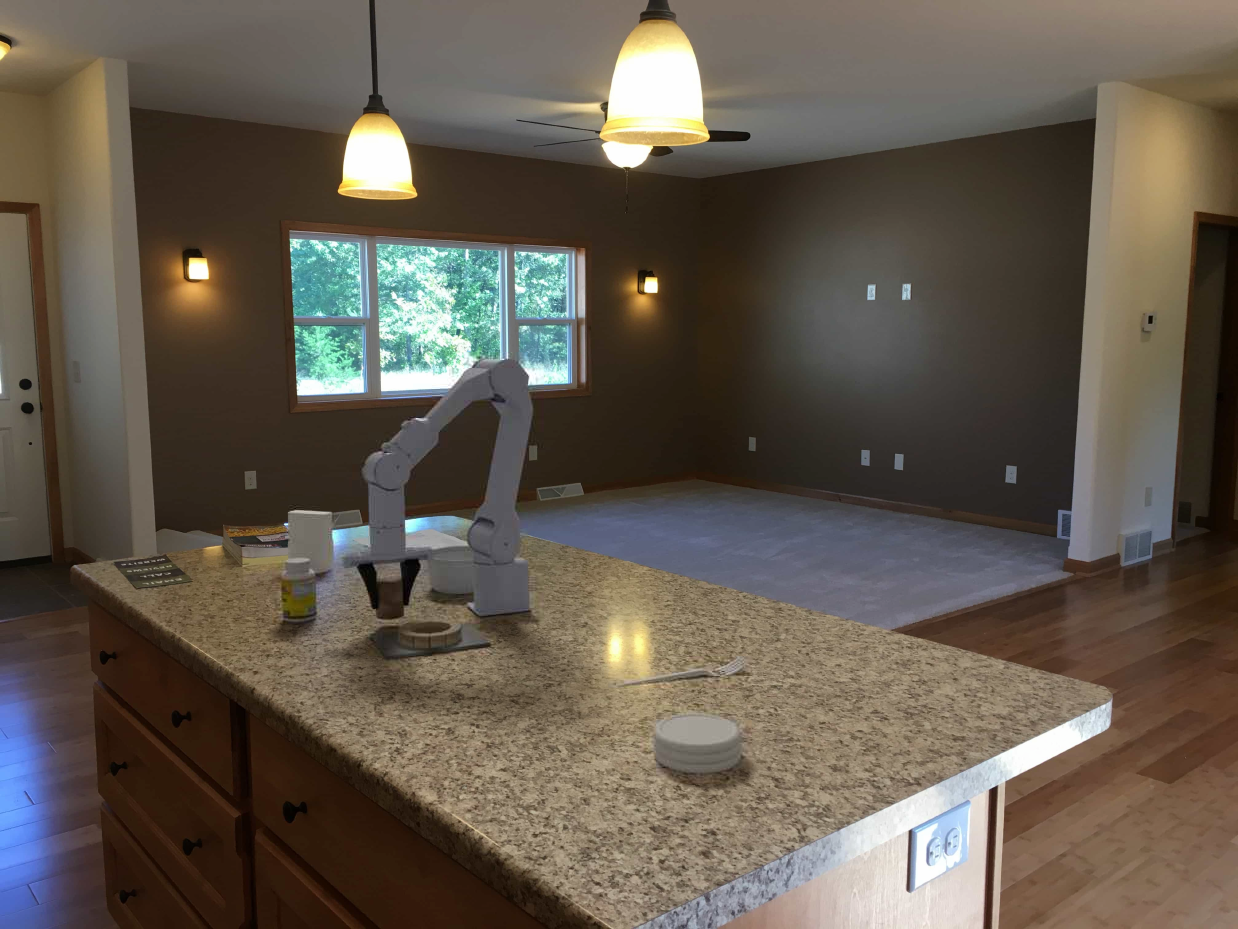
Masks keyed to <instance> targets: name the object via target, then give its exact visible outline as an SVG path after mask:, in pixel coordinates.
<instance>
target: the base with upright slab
mask: <svg viewBox="0 0 1238 929" xmlns="http://www.w3.org/2000/svg"><path fill="white" fill-rule="evenodd" d="M287 522H288V524H287V526H288V542H287V544H288V546H287V547H288V548H287V549H288V559H293V558H307V559H309V560H310V569H312V570H313V571H314V572H315V573H316V574H321V573H322V572H323V573H327V572H330V571H329V570H331V571H332V569H333V570H334V569H335V551H334V549H335V546H334V538H333V513H332V511H321V510H320V511H318V510H303V509H302V510H300V509H296V510H291V511H288V512H287Z"/></svg>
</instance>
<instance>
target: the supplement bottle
mask: <svg viewBox="0 0 1238 929" xmlns="http://www.w3.org/2000/svg"><path fill="white" fill-rule="evenodd" d="M284 568H285V570H284V571H283V572H281V574H280V582H281V583H280V584H281V607H282V608H281V609H282V618H283V620H284V621H286V622H288V623H304V622H309V621H311V620H315V618H317V612H318V611H317V607H318V606H317V584H316V582H317V581H316V578H317V577H316V574H315V572H314V571H313V570H312V569H310V560H309V559H307V558H293V559H289V558H288V559H286V560H285V567H284Z"/></svg>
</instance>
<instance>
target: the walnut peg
mask: <svg viewBox="0 0 1238 929" xmlns="http://www.w3.org/2000/svg"><path fill="white" fill-rule="evenodd" d="M376 591H377V601H378V609H375V616H376V617H375V618H377V619H379V620H381V621H382V620H385V621H389V620H391V621H393V620H397V619H400V618H403V617H404V616H405V606H404V594H403V579H402V578H401V577H397V576H395V577H394V576H393V577H392V576H391V577H389V576H388V577H382V578H377V584H376Z"/></svg>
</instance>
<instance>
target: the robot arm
mask: <svg viewBox="0 0 1238 929" xmlns="http://www.w3.org/2000/svg"><path fill="white" fill-rule="evenodd" d="M529 380H530V375H529V374H528V373H527V371H526V370H525V368H524V367H523V366H522V365H521V364H520V363H519V361H517V360H515V359H512V358H503V359H502V358H501V359H500V358H499V359H498V358H489V357H483V358H479V359H478V360H476V361H475V362H474V363H473V364H472V365H471V367H469V368H467V369H466V370H464V371H463V373H461V376H460V377H459V378H458V380H457V381H456V382H454V384H453V385H452V386H451V387H450V389H449V390H448V391H447V392H446V393H445V394H444V395H443V396H442V397H441V398H440V399H439V400H438V402H437V403H436V404H435V405H434V406H433V407H432V408H431V410H430V411H429V412H428V413H427V414H425V416H424V417H422V418H421V417H419V418H417V417H415V418H411V420H405V421H403V422H402V423H401V424H400V427H401V428H402V429H401V430H399V431H398V432H397V434H395V435H394V436H393V437H392V439H390V440H389V441H388V442H384V443H382V444H381V447H380V448H381V449H382V451H377V452H374V453H372V454H370V455H369V456H368V457H367V459H366V460H365V462H364V464H365V465H363V468H362V469H361V474H362V477H363V479H364V480H365V481H366V482H367V485H368V487H367V488H368V522H369V524H368V525H369V545H370V547H369V548H370V549H369V550H364V551H358V552H353V553H346V554H345V553H344V554H341V561H342V562H341V564H342V567H343V569H352V568H353V567H356V569H357V571H358V573H359V574H360V575H359V576H360V577H361V579H362V581H363V583H364V585H365V588H366V591H367V594H368V598H369V602H370V608H371V609H372V610H376V609H378V601H377V591H376V584H377V579H378V572H377V570H376V565H383V564H384V565H385V564H395V563H396V564H398V563H399V567H400V578H402V579H403V594H404V607H407V606H410V605H409V604H410V598H411V593H412V591H413V586H414V583H415V581H416V579H417V577H418V574H419V572H420V571H421V568H422V566H421V563H420V561H426V560H433V549H434V548H433V547H431V546H422V547H420V546H419V547H417V546H415V547H407V546H406V545H407V540H406V536H407V535H406V513H405V512H406V511H405V510H406V508H405V507H406V506H405V505H406V504H405V485H406V484H407V483H408V482H409V479H410V476H411V470H412V469H413V468H414V467H415V466H417V464H418V463H420V461H421V460H422V459H423V458H424V457H425V456H426V455H428V453H430V451H431V450H432V449H433V448H434V447H436V445H437V444H438V443H439V433H440V431H441V430H442V429H443V428H444V427H445V426H447V424H449V423H450V422H451V421H452V420H453V419H454V418H456V417H457V416H458V415H459V414H460V413H461V412H462V411H463V410H464V409H465V408H467V407H468V406H469V405H470V404H471V403H473V402H474V401H479V400H484V399H487V400H488V401H490V403H491V404H492V406H494V408H495V409H496V410H497V412H498V413H499V416H500V417H499V418H500V419H499V424H498V428H497V435H496V440H495V444H494V450H493V455H492V461H491V466H490V471H489V475H488V476H489V477H488V481H487V487H486V490H485V498H484V502H483V503H482V504H481V506H479V507H478V509H476V512H475V516H474V519H473V522H472V523H471V524H470V526H469V527H468V529H467V532H466V542H467V543H466V544H467V546H469V547H470V548H471V549H472V550H473V576H474V593H473V602H467V603H466V606H467V607H468V608H469V609H470V610H471V611H473V612H474V613H475V614H476V615H477V616H478V617H486V616H495V615H502V614H512V613H518V612H520V613H521V612H527V611H531V610H532V608H531V607H530V571H529V566H528V562H527V561H526V559H525V558H524V557H516V556H518V554H519V552H520V549H521V546H522V539H521V534H520V526H521V520H520V518H519V516H518V513H517V511H516V504H517V503H516V502H517V497H518V493H519V492H518V491H519V487H520V482H521V477H522V471H523V467H524V462H525V461H524V460H525V456H526V451H527V445H528V440H529V435H530V430H531V425H532V420H533V413H534V405H533V402H532V399H531V398H532V397H531V393H530V389H529V385H528V384H529Z"/></svg>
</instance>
